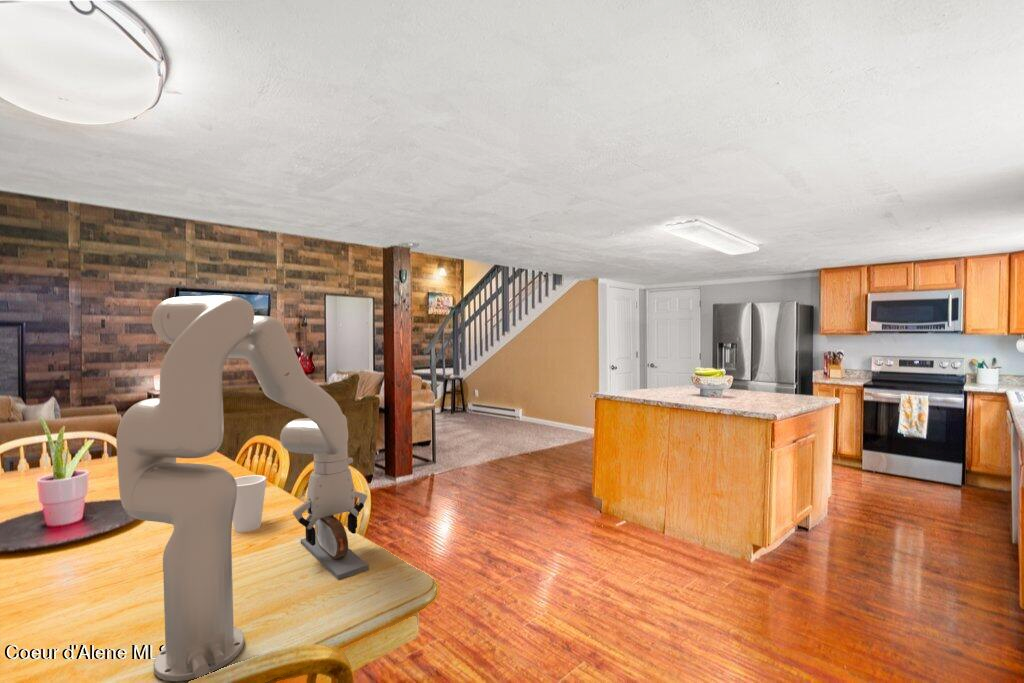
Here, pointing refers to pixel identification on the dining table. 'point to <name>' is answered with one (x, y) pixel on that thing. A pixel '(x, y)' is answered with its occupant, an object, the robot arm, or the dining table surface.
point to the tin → (331, 536)
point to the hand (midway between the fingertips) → (332, 537)
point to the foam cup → (249, 503)
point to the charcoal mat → (337, 561)
